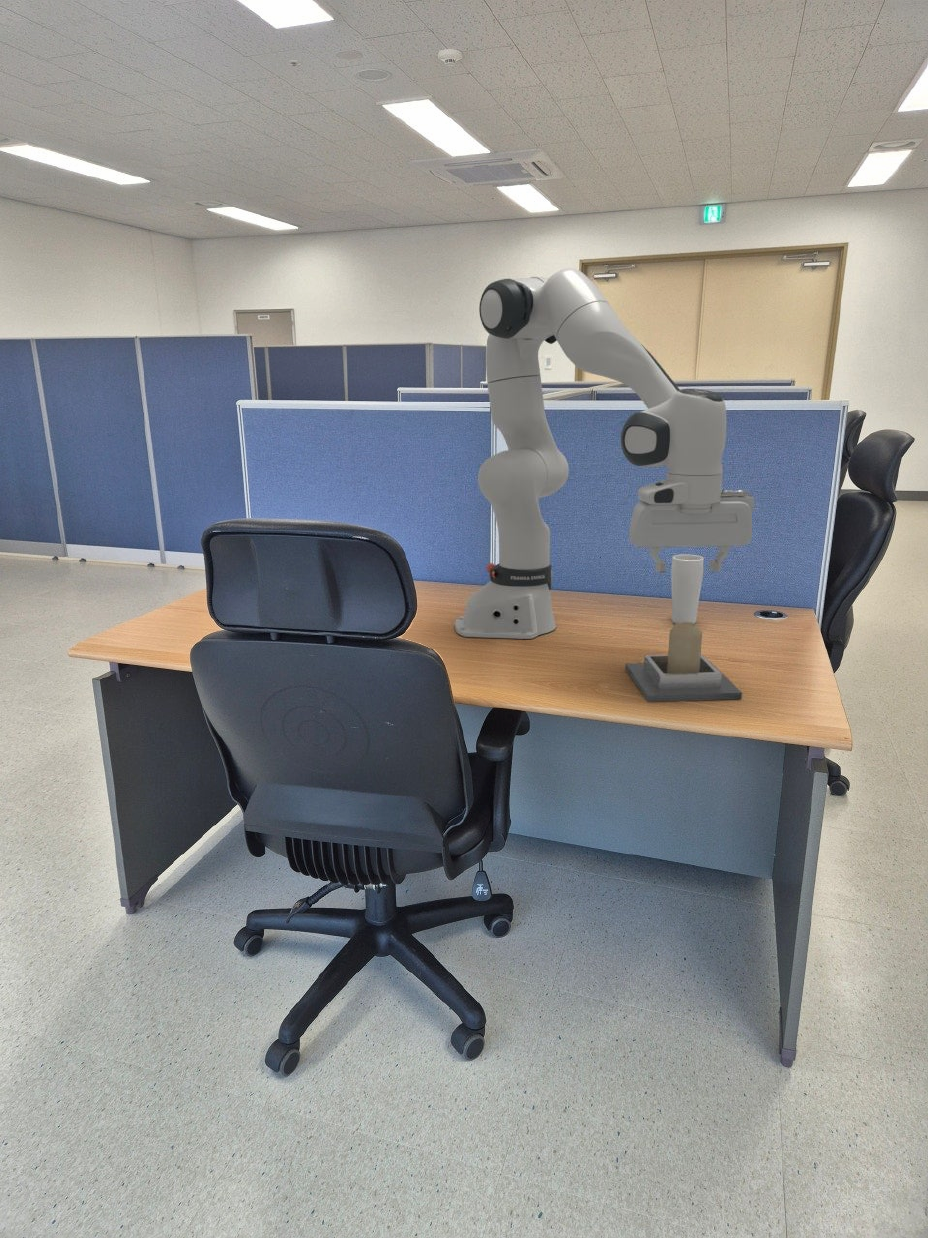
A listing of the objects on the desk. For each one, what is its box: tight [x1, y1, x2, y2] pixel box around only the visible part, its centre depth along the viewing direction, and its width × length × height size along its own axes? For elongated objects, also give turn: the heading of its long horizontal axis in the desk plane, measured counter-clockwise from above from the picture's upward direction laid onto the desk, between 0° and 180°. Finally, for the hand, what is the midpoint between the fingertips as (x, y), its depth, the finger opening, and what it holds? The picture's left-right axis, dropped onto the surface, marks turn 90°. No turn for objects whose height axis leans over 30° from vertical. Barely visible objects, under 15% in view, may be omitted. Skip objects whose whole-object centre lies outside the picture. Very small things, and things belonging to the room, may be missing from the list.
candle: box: [667, 622, 703, 673], centre depth 138 cm, size 6×6×10 cm
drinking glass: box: [670, 553, 705, 625], centre depth 174 cm, size 7×7×15 cm
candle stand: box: [625, 653, 743, 703], centre depth 139 cm, size 16×16×4 cm
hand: (687, 571), depth 134 cm, fingers open, 8 cm apart
